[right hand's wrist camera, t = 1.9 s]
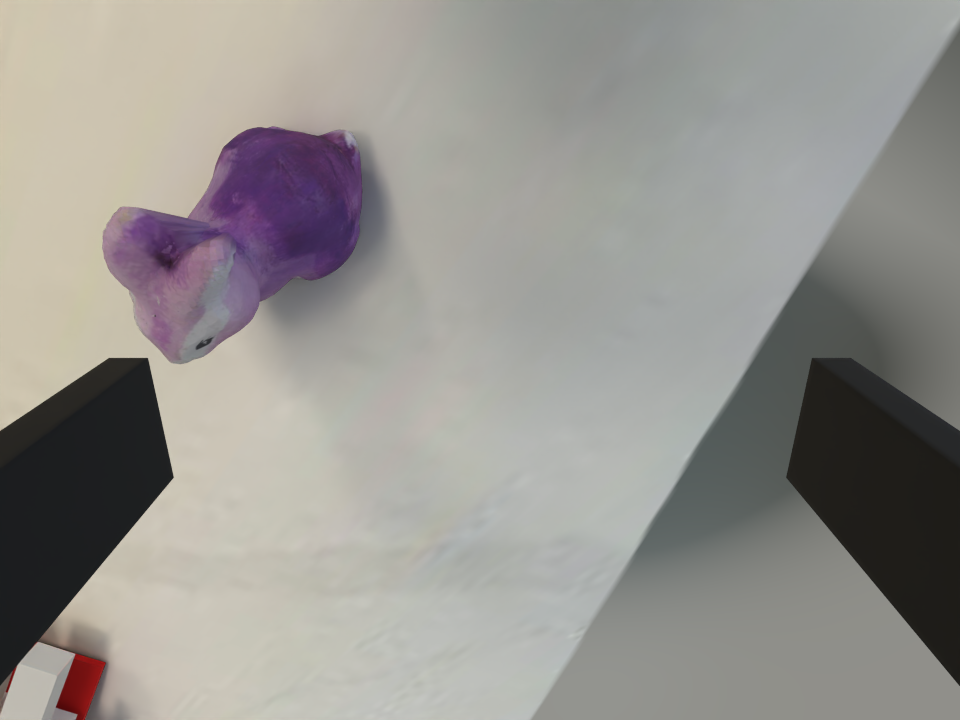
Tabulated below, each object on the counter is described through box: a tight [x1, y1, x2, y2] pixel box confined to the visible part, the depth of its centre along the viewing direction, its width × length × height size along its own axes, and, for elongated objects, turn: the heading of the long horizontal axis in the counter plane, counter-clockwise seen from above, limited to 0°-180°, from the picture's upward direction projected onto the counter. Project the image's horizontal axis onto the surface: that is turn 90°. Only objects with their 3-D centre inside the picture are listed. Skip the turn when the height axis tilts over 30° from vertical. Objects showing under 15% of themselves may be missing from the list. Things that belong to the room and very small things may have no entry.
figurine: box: [102, 126, 362, 364], centre depth 29 cm, size 9×10×15 cm
